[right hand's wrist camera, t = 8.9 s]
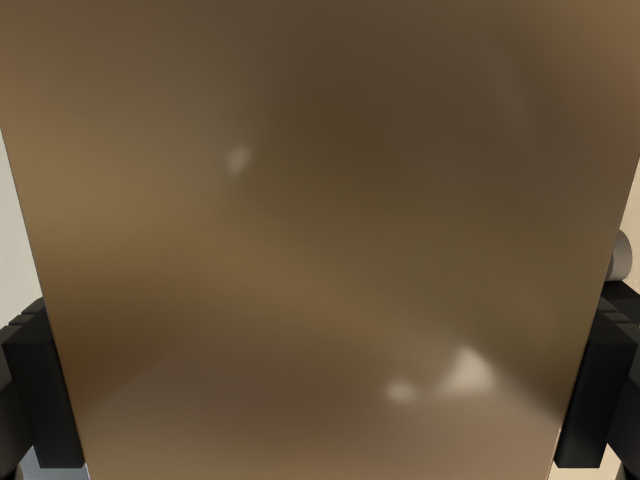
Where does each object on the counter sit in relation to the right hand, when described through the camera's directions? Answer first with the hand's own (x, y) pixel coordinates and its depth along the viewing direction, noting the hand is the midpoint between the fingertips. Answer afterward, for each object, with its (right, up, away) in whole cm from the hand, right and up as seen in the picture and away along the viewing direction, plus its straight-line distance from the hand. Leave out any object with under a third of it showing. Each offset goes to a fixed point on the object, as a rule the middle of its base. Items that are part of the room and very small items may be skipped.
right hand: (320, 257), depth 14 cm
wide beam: (0, +23, -9) cm, 25 cm away
